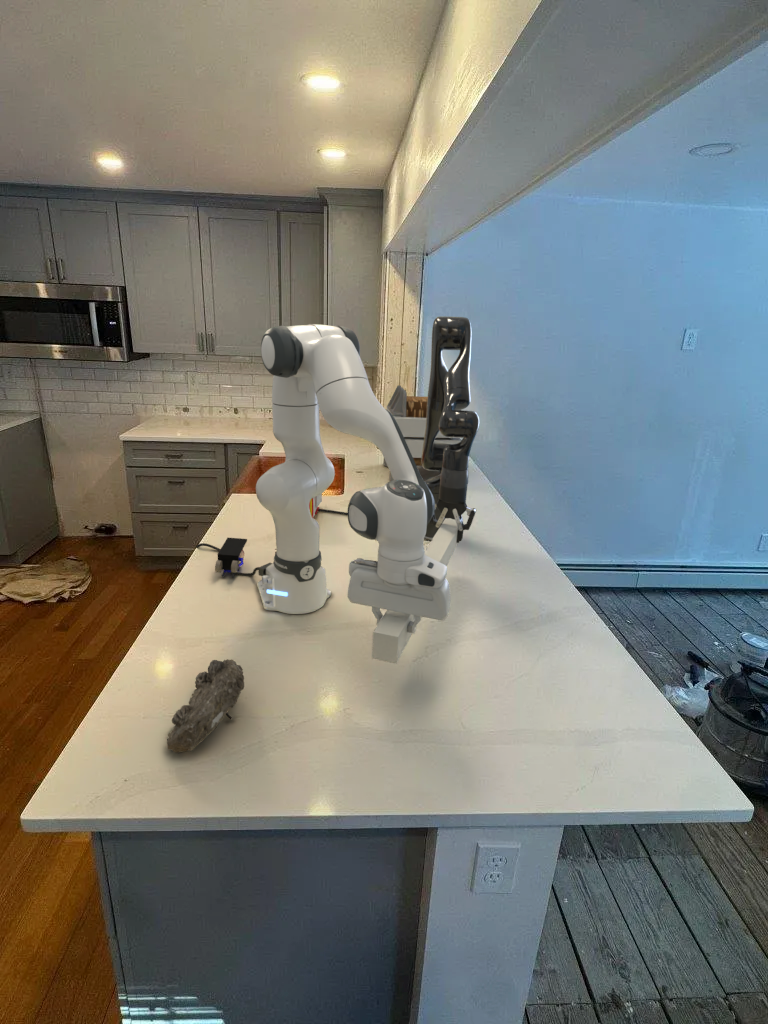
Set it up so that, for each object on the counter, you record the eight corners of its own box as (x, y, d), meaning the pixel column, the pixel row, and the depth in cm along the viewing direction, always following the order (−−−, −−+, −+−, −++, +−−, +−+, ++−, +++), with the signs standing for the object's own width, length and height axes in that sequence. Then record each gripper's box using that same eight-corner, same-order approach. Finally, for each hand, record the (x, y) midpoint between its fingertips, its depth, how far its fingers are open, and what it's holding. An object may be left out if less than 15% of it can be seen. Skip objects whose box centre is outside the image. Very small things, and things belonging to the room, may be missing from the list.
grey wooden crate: (382, 463, 289) (386, 382, 275) (445, 464, 293) (451, 384, 279) (390, 482, 257) (394, 392, 243) (460, 483, 261) (468, 394, 247)
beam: (444, 535, 169) (446, 516, 167) (461, 537, 168) (463, 519, 166) (371, 658, 108) (372, 631, 106) (396, 664, 106) (398, 637, 104)
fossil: (192, 660, 117) (244, 628, 112) (224, 691, 120) (276, 661, 115) (142, 746, 98) (202, 712, 93) (182, 779, 101) (242, 748, 96)
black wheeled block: (238, 584, 162) (249, 557, 175) (236, 562, 158) (247, 536, 172) (215, 584, 161) (227, 556, 175) (212, 561, 158) (225, 535, 171)
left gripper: (343, 563, 108) (341, 625, 113) (449, 582, 103) (442, 647, 107) (354, 550, 114) (353, 610, 118) (455, 568, 108) (449, 630, 113)
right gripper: (425, 483, 154) (421, 541, 160) (477, 490, 150) (471, 549, 156) (431, 476, 161) (427, 532, 167) (481, 482, 157) (475, 539, 163)
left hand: (396, 628), depth 113 cm, fingers closed on beam, 5 cm apart
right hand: (448, 540), depth 161 cm, fingers closed on beam, 5 cm apart
